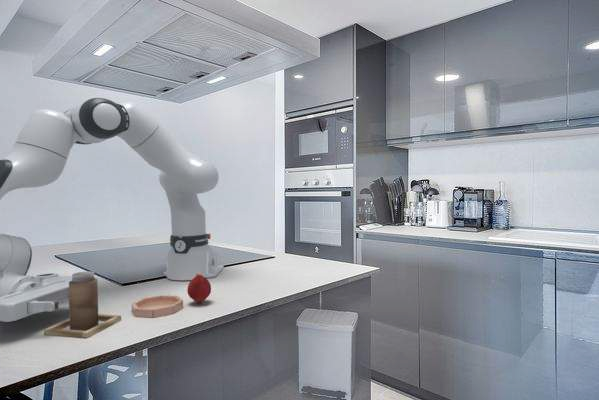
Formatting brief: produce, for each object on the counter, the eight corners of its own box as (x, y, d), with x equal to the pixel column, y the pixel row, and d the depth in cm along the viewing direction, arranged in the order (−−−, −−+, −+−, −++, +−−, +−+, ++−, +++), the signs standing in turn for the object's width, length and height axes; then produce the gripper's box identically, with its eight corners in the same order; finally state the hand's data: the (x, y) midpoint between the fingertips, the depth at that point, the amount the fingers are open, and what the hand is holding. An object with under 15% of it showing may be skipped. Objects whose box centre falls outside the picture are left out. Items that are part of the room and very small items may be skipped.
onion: (213, 299, 95) (212, 269, 94) (208, 306, 89) (207, 275, 89) (191, 300, 94) (190, 270, 94) (184, 307, 89) (184, 275, 88)
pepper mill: (83, 321, 79) (82, 270, 79) (104, 323, 78) (102, 271, 78) (63, 331, 74) (62, 276, 74) (85, 332, 73) (84, 277, 73)
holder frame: (82, 317, 82) (82, 313, 82) (121, 320, 80) (121, 315, 80) (43, 334, 72) (43, 329, 72) (86, 338, 70) (86, 333, 70)
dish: (150, 301, 94) (150, 294, 94) (189, 303, 92) (189, 296, 92) (122, 315, 83) (122, 308, 83) (165, 318, 81) (165, 310, 81)
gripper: (-32, 295, 69) (28, 299, 66) (58, 271, 89) (107, 273, 86) (-31, 327, 69) (30, 332, 66) (59, 296, 89) (108, 299, 86)
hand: (74, 298), depth 76 cm, fingers open, 8 cm apart
